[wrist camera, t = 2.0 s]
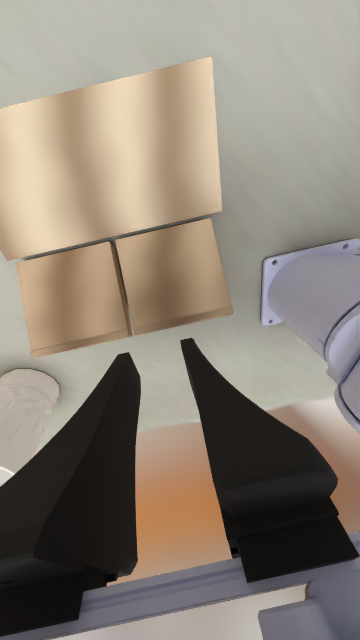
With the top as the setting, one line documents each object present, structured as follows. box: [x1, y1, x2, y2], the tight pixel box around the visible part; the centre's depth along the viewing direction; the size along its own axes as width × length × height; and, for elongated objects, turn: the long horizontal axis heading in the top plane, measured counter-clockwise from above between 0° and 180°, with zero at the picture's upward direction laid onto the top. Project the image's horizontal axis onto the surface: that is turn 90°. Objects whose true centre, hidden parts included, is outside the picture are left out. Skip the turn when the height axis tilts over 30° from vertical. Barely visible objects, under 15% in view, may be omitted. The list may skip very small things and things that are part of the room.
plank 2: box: [115, 218, 233, 335], centre depth 16 cm, size 8×8×1 cm
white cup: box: [0, 369, 60, 486], centre depth 21 cm, size 8×8×10 cm
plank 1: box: [16, 242, 133, 358], centre depth 16 cm, size 8×8×1 cm
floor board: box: [0, 56, 222, 261], centre depth 14 cm, size 18×8×1 cm, turn 101°
